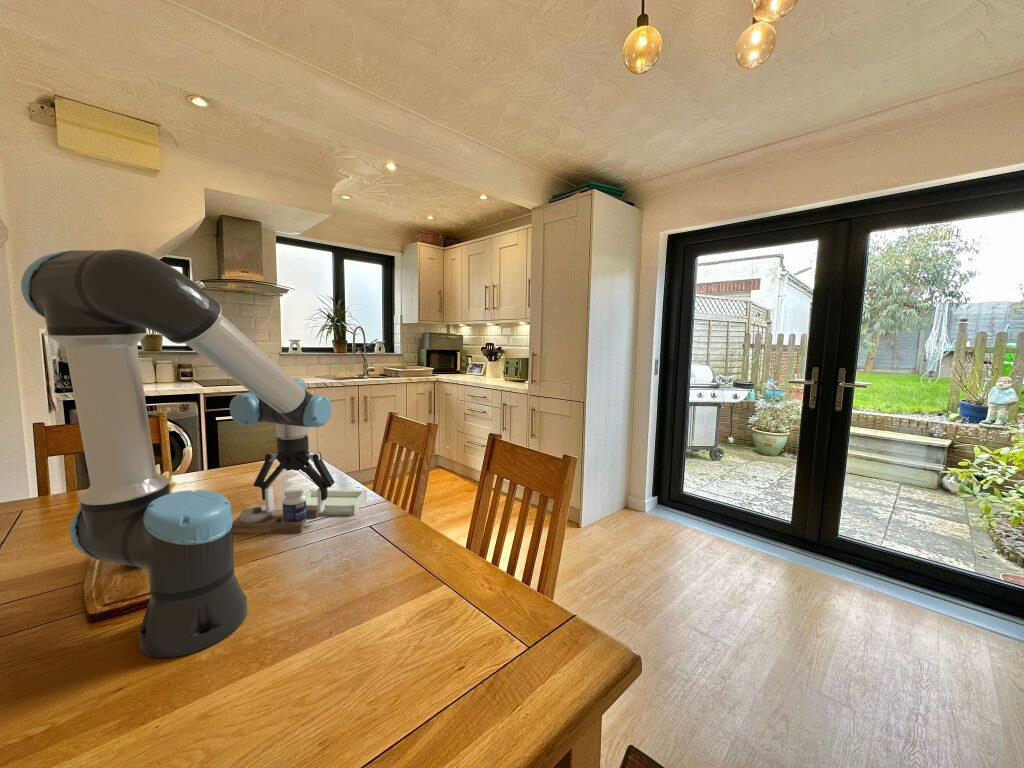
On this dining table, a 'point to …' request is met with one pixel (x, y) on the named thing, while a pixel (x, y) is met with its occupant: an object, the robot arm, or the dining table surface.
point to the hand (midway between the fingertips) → (295, 511)
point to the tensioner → (268, 521)
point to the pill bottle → (294, 505)
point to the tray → (338, 501)
